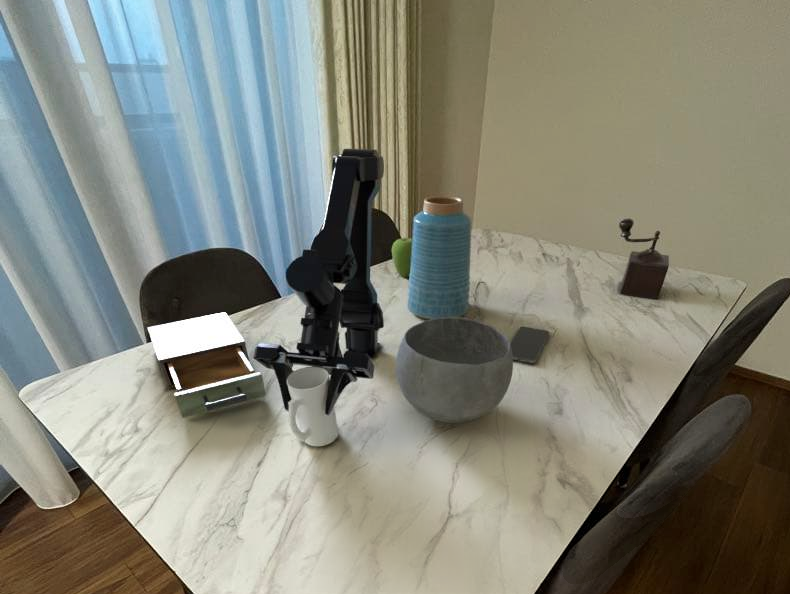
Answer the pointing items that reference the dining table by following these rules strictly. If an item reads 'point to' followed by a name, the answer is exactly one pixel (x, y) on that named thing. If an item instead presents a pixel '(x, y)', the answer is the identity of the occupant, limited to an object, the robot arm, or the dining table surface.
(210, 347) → the cabinet
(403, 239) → the green rounded piece
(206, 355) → the drawer
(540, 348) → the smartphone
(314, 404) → the mug
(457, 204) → the vase
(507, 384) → the bowl
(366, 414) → the dining table surface
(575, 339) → the dining table surface
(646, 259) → the manual coffee grinder
